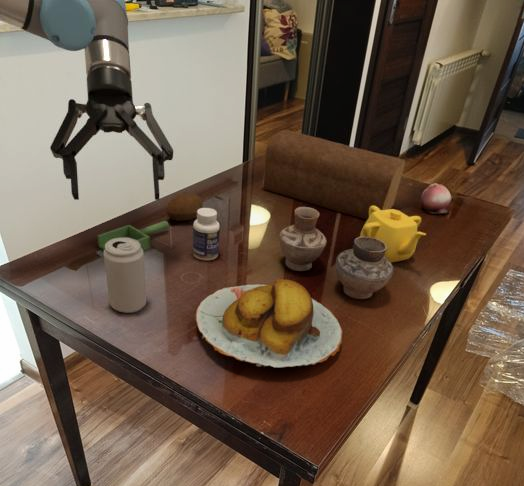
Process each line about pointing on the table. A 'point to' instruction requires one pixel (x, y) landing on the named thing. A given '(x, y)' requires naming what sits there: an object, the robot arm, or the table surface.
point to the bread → (331, 173)
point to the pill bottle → (206, 234)
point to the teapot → (393, 232)
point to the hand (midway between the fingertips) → (117, 197)
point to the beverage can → (125, 274)
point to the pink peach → (435, 199)
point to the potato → (184, 207)
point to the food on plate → (269, 324)
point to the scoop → (132, 234)
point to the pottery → (347, 262)
